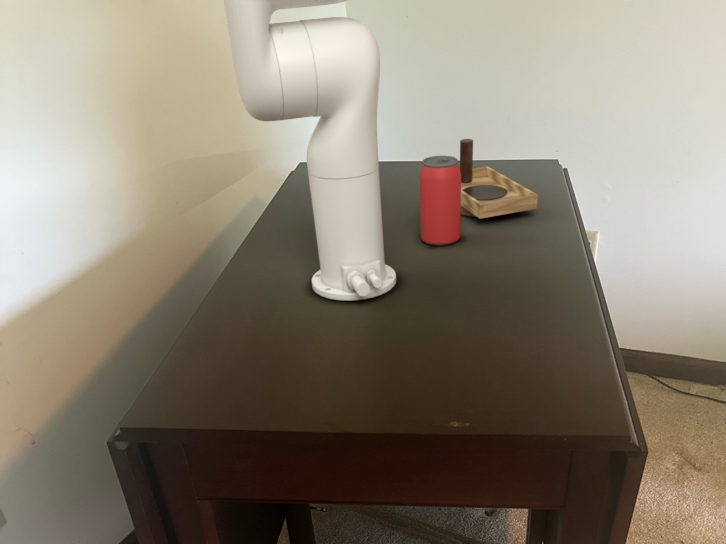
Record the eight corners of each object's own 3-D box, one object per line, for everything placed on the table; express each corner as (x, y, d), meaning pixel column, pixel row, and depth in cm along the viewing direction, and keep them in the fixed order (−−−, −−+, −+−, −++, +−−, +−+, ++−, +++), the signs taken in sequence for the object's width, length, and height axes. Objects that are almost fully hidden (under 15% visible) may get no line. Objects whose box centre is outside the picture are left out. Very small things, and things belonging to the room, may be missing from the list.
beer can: (468, 238, 112) (469, 158, 104) (442, 250, 109) (442, 168, 101) (438, 230, 116) (437, 152, 107) (412, 241, 112) (410, 162, 104)
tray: (536, 208, 117) (541, 159, 112) (479, 218, 114) (480, 169, 109) (487, 179, 131) (489, 134, 125) (435, 187, 128) (434, 142, 123)
